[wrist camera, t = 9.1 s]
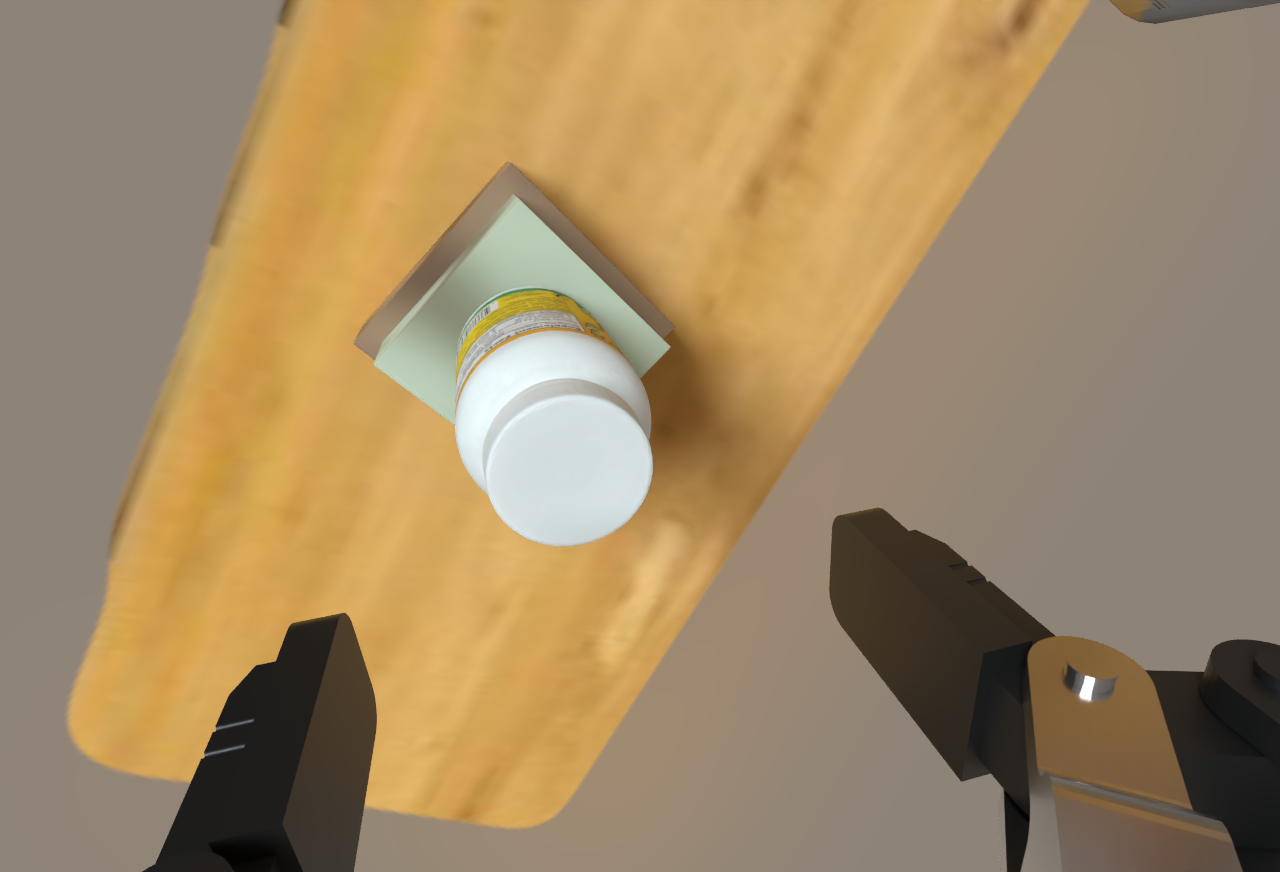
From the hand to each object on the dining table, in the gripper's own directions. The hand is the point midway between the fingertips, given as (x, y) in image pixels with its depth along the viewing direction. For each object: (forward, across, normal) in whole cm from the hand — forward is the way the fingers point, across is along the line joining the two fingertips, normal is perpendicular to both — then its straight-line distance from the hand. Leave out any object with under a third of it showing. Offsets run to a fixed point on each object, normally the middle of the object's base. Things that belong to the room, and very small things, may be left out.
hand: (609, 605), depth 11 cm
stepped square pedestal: (+21, 0, 0) cm, 21 cm away
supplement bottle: (+15, 0, 0) cm, 15 cm away
